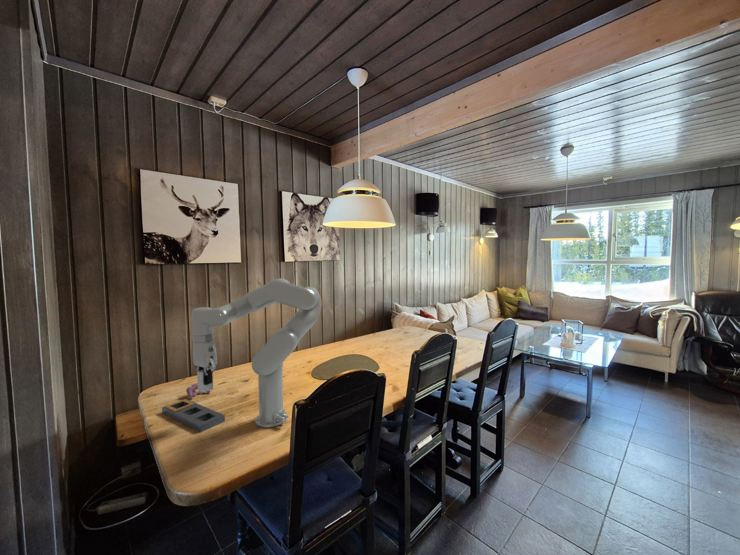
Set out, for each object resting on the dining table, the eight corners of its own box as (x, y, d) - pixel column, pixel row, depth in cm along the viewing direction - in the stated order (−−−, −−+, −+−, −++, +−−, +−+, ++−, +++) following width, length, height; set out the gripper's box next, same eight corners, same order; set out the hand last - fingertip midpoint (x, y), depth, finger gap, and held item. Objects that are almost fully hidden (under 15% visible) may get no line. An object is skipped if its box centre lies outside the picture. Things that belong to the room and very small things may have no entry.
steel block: (213, 389, 126) (212, 369, 126) (203, 392, 122) (202, 372, 122) (207, 387, 128) (206, 368, 128) (197, 390, 125) (197, 371, 124)
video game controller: (208, 394, 157) (205, 381, 159) (211, 392, 155) (208, 379, 156) (187, 401, 150) (184, 387, 151) (190, 399, 147) (187, 385, 149)
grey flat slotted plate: (224, 421, 127) (224, 414, 127) (200, 432, 119) (200, 425, 119) (185, 404, 143) (185, 398, 143) (162, 413, 135) (161, 406, 135)
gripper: (224, 338, 123) (226, 383, 124) (201, 334, 132) (202, 376, 133) (206, 342, 117) (208, 390, 117) (182, 337, 125) (184, 382, 126)
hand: (205, 382), depth 125 cm, fingers closed on steel block, 4 cm apart
